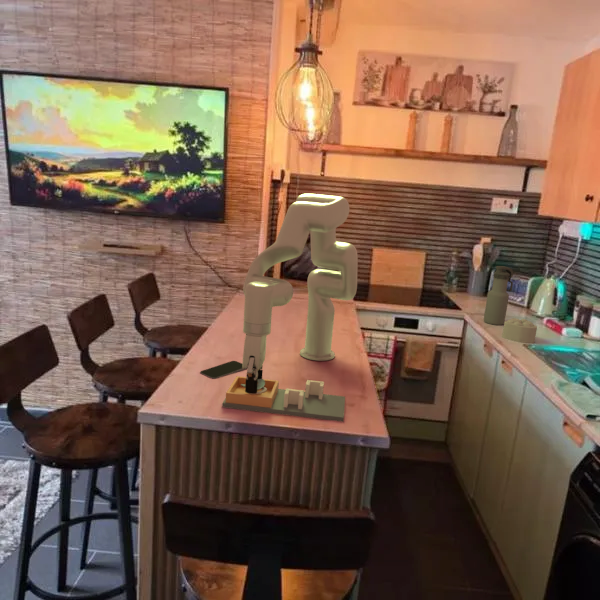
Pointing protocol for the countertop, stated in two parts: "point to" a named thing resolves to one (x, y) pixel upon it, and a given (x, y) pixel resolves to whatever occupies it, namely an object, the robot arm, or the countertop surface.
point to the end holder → (241, 397)
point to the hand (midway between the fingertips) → (253, 386)
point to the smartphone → (223, 370)
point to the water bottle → (498, 296)
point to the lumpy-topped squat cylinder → (519, 330)
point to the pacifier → (258, 386)
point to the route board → (302, 403)
